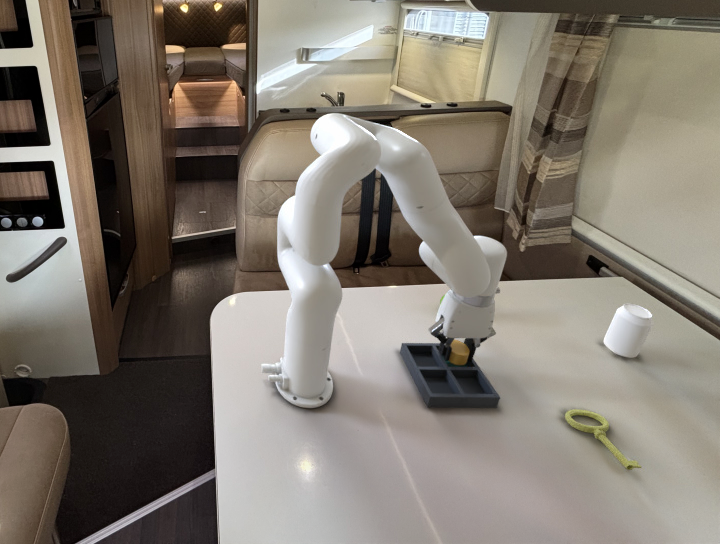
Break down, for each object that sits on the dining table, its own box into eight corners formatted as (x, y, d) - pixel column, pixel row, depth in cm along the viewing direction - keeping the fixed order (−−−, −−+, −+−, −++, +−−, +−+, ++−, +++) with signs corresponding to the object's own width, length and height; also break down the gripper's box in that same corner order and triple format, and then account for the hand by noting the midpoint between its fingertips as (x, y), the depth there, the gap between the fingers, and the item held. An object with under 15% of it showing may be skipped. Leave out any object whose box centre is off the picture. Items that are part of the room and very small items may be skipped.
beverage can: (642, 355, 101) (662, 315, 96) (627, 363, 99) (646, 323, 94) (611, 336, 106) (629, 298, 102) (596, 344, 104) (613, 305, 100)
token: (450, 365, 95) (453, 355, 94) (440, 349, 99) (442, 339, 98) (470, 365, 95) (473, 355, 94) (459, 349, 99) (462, 339, 98)
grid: (427, 407, 89) (430, 396, 88) (399, 352, 102) (401, 342, 101) (496, 408, 89) (500, 397, 87) (459, 353, 102) (462, 343, 101)
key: (628, 477, 76) (632, 469, 75) (558, 415, 87) (561, 408, 86) (656, 466, 78) (660, 458, 77) (584, 407, 89) (588, 399, 88)
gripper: (502, 280, 94) (482, 343, 101) (425, 280, 94) (410, 343, 101) (525, 304, 87) (502, 370, 94) (441, 303, 87) (425, 369, 94)
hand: (455, 355), depth 97 cm, fingers closed on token, 4 cm apart
